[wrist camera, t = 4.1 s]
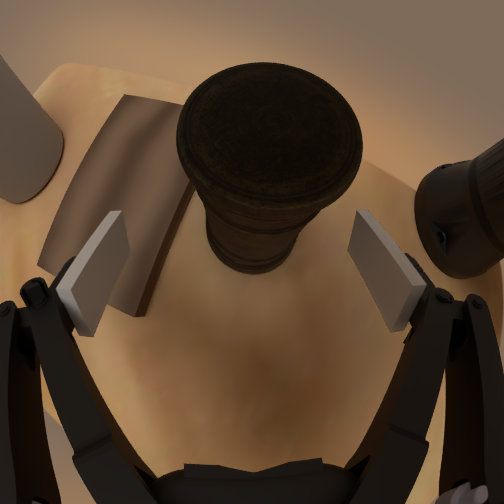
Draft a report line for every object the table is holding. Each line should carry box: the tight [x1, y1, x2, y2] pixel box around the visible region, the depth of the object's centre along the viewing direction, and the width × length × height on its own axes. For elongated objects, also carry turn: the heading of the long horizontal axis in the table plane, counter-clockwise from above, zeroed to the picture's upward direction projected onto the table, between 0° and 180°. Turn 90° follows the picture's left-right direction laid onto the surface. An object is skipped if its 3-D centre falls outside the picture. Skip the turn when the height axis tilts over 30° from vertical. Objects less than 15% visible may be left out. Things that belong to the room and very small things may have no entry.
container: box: [176, 62, 363, 274], centre depth 20 cm, size 9×9×18 cm
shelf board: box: [37, 94, 195, 317], centre depth 27 cm, size 13×22×3 cm, turn 160°
